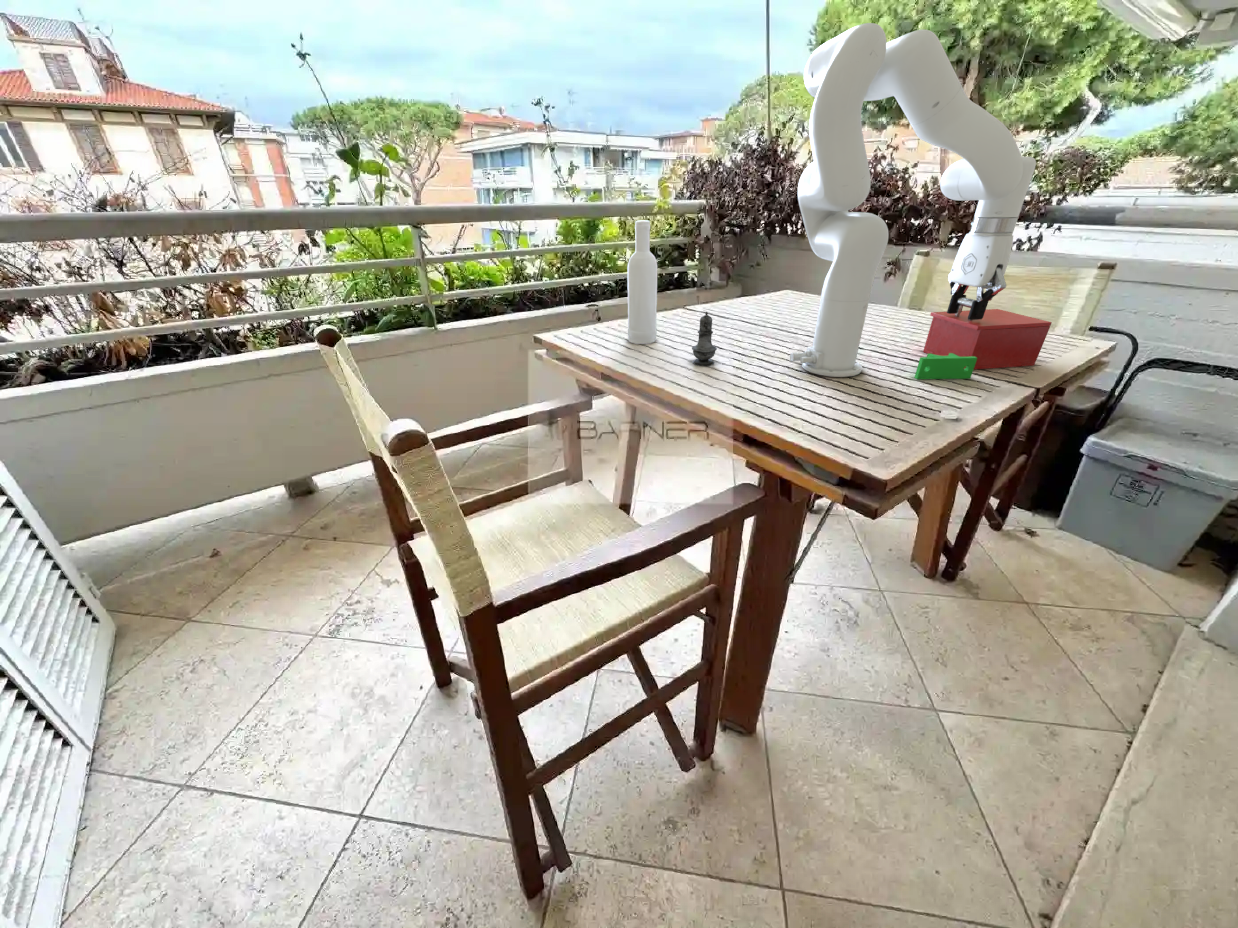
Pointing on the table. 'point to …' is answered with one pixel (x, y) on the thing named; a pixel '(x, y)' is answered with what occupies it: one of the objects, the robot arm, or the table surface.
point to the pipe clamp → (945, 367)
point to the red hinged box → (986, 344)
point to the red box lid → (989, 318)
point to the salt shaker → (704, 343)
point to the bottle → (642, 288)
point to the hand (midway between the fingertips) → (964, 315)
